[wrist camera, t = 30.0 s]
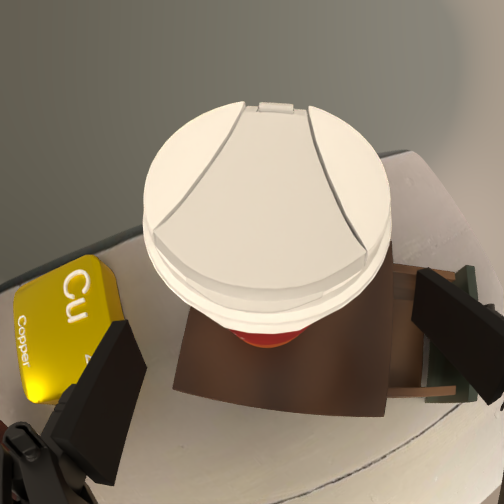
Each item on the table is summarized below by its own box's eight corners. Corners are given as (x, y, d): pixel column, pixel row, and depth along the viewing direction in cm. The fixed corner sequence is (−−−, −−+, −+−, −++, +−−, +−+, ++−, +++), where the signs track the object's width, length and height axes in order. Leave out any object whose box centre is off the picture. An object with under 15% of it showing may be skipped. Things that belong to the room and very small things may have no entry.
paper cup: (222, 253, 22) (175, 92, 9) (324, 264, 21) (383, 105, 9) (203, 357, 19) (86, 293, 6) (317, 370, 18) (422, 333, 5)
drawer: (467, 296, 28) (505, 271, 21) (465, 399, 22) (510, 395, 15) (328, 280, 30) (346, 246, 23) (314, 400, 25) (332, 406, 17)
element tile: (31, 300, 31) (9, 288, 27) (114, 263, 33) (95, 246, 29) (47, 406, 25) (22, 405, 20) (143, 383, 27) (123, 381, 22)
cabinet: (359, 282, 31) (392, 240, 22) (347, 408, 25) (384, 416, 16) (228, 264, 32) (213, 216, 24) (201, 388, 26) (171, 389, 18)
